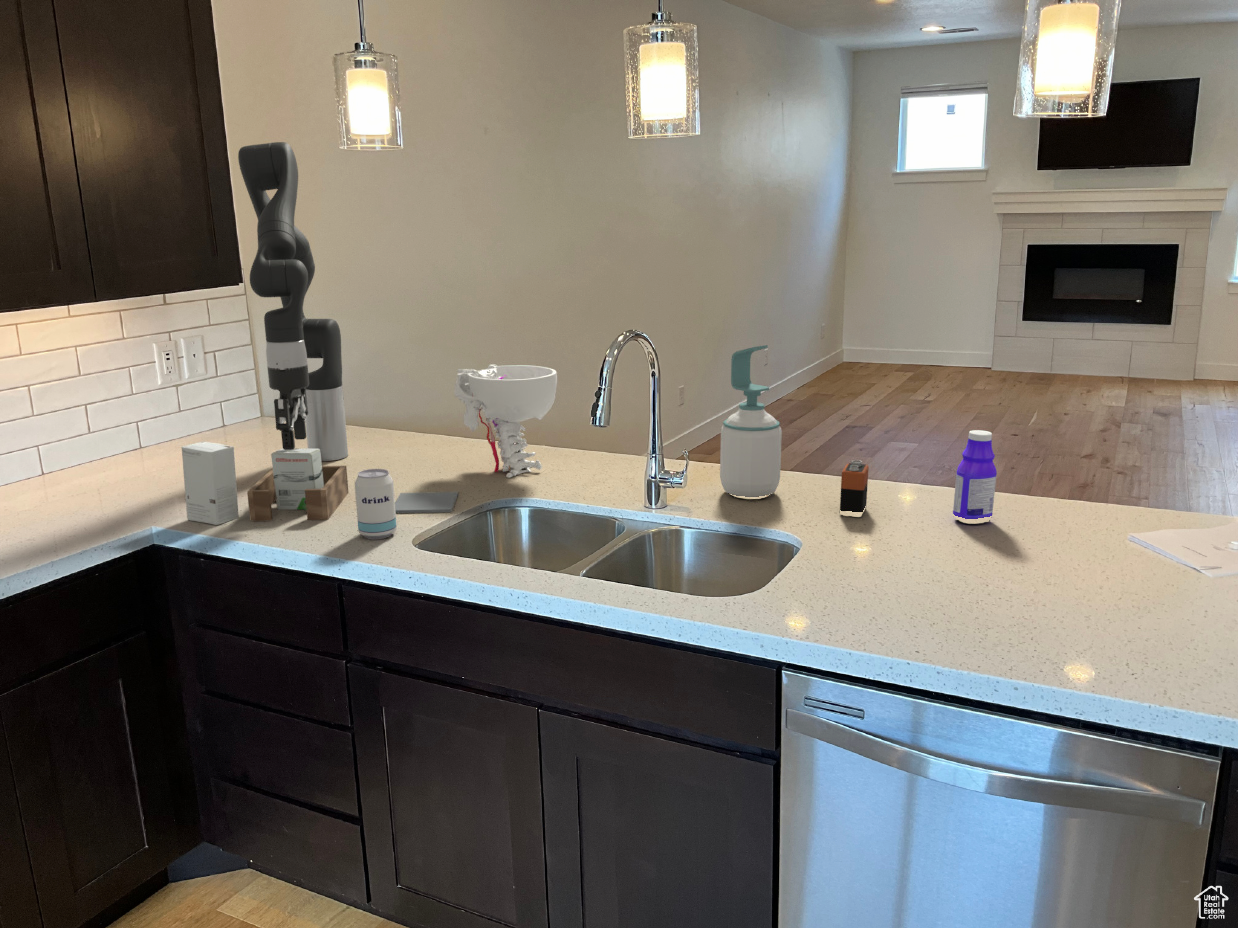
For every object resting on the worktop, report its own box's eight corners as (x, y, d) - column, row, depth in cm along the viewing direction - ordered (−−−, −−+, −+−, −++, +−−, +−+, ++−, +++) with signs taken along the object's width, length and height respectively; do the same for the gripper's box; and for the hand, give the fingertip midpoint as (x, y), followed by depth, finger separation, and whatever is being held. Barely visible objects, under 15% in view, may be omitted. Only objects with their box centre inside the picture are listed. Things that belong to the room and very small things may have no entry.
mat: (400, 495, 209) (400, 492, 209) (458, 494, 210) (458, 491, 210) (390, 513, 198) (390, 510, 198) (451, 511, 198) (451, 509, 198)
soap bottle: (750, 506, 200) (754, 351, 192) (707, 493, 209) (709, 344, 201) (792, 494, 207) (797, 345, 199) (748, 482, 217) (752, 339, 209)
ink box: (326, 503, 205) (321, 447, 202) (317, 510, 200) (312, 453, 197) (286, 502, 206) (280, 446, 203) (275, 509, 201) (269, 452, 198)
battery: (866, 508, 198) (869, 459, 195) (861, 518, 192) (864, 468, 189) (844, 506, 199) (846, 458, 197) (839, 516, 193) (841, 466, 191)
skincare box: (186, 520, 195) (177, 447, 191) (210, 512, 200) (201, 440, 196) (219, 526, 191) (210, 451, 187) (242, 517, 196) (234, 443, 193)
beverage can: (359, 542, 181) (354, 479, 178) (358, 531, 187) (353, 469, 184) (398, 539, 183) (393, 476, 180) (395, 527, 189) (391, 466, 186)
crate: (277, 494, 211) (274, 466, 210) (348, 492, 212) (346, 465, 210) (250, 521, 194) (247, 491, 192) (328, 519, 194) (325, 489, 193)
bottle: (977, 514, 193) (985, 427, 189) (998, 523, 188) (1006, 433, 184) (946, 519, 191) (953, 430, 186) (966, 528, 186) (974, 437, 181)
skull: (573, 464, 232) (571, 367, 226) (539, 486, 215) (535, 381, 209) (477, 456, 240) (473, 362, 234) (437, 476, 223) (431, 375, 217)
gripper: (278, 358, 202) (286, 436, 206) (256, 370, 188) (265, 453, 192) (315, 357, 202) (322, 435, 206) (296, 369, 188) (304, 452, 193)
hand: (295, 444), depth 199 cm, fingers open, 8 cm apart
